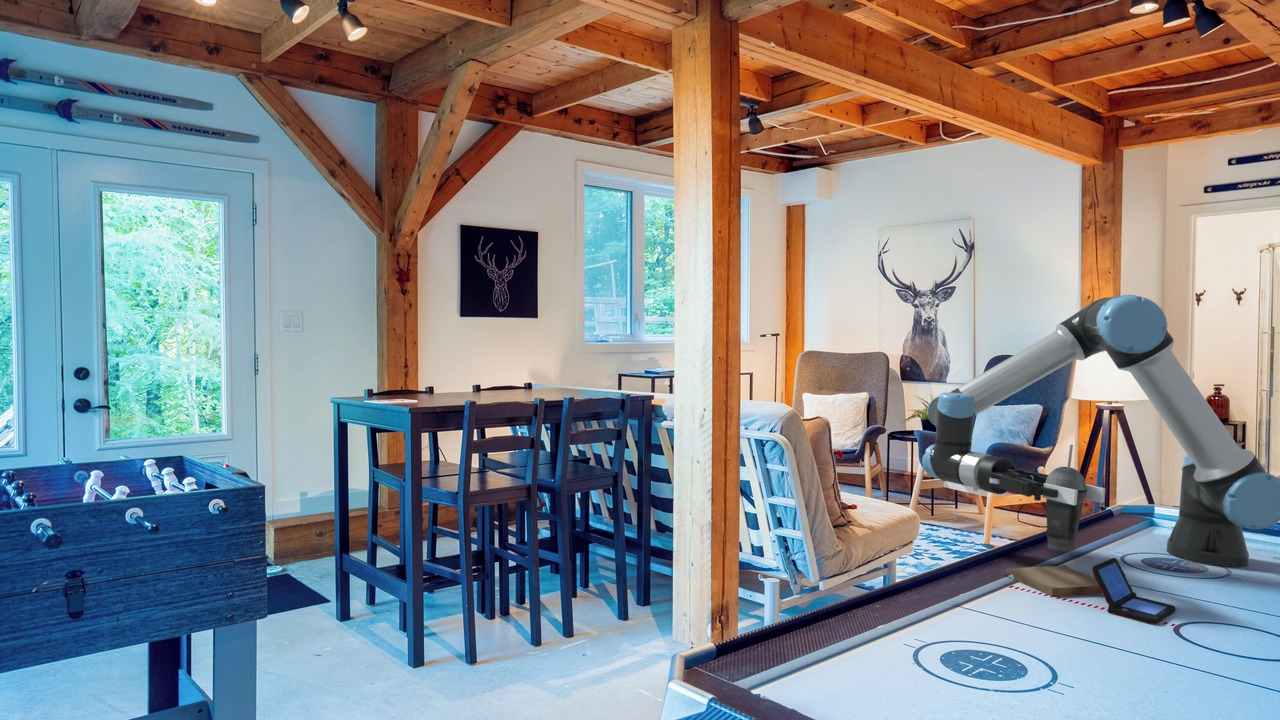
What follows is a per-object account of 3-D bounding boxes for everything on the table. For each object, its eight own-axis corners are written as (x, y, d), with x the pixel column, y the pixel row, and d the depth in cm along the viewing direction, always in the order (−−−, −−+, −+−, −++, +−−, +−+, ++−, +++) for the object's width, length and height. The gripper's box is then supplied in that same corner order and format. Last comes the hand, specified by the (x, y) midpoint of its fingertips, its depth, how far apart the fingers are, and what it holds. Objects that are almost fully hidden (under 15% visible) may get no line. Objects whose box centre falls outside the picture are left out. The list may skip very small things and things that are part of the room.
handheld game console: (1155, 627, 140) (1159, 583, 139) (1086, 608, 148) (1089, 567, 147) (1177, 612, 148) (1181, 570, 148) (1111, 595, 156) (1114, 555, 156)
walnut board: (1063, 573, 168) (1064, 565, 168) (1113, 592, 157) (1113, 585, 157) (1005, 575, 164) (1006, 568, 164) (1052, 596, 153) (1052, 588, 153)
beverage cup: (1072, 544, 164) (1080, 442, 163) (1089, 554, 156) (1097, 447, 155) (1033, 541, 164) (1041, 440, 163) (1048, 551, 157) (1056, 445, 156)
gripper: (1019, 488, 180) (1122, 513, 160) (951, 493, 171) (1051, 520, 151) (1022, 454, 180) (1125, 474, 160) (954, 456, 171) (1054, 478, 150)
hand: (1089, 496), depth 155 cm, fingers closed on beverage cup, 7 cm apart
